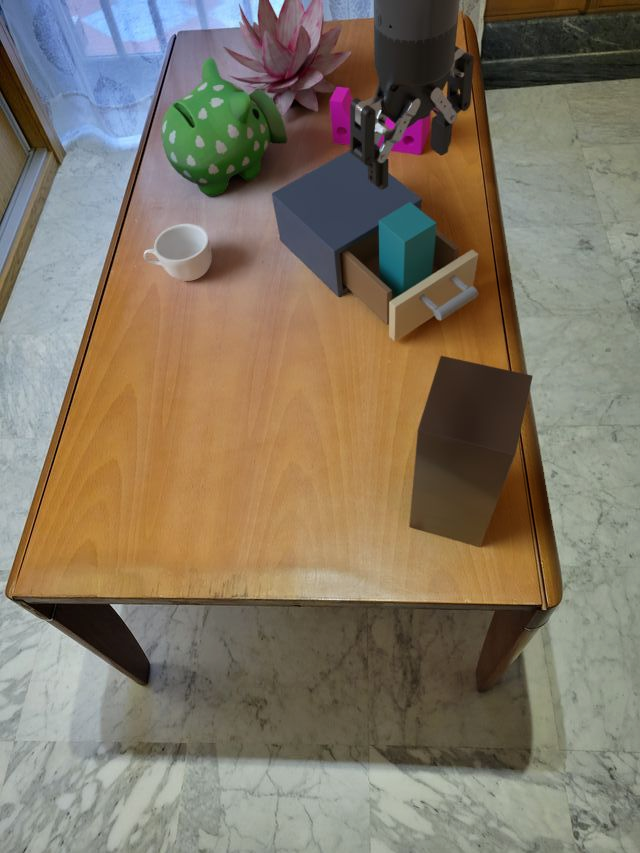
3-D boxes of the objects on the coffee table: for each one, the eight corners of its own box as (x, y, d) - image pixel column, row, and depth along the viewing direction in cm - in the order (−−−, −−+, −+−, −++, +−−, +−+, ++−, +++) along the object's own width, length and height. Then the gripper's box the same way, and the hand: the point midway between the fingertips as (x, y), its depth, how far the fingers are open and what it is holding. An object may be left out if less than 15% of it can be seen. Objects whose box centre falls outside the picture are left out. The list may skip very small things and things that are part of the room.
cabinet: (419, 247, 93) (422, 198, 85) (338, 297, 89) (334, 251, 82) (357, 195, 99) (355, 146, 92) (280, 240, 96) (271, 193, 88)
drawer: (494, 309, 85) (502, 272, 79) (415, 362, 81) (418, 328, 75) (408, 237, 93) (409, 199, 87) (333, 283, 89) (329, 246, 84)
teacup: (218, 248, 96) (209, 220, 92) (215, 286, 92) (206, 259, 88) (153, 254, 97) (142, 227, 92) (148, 292, 93) (136, 265, 88)
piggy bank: (297, 172, 103) (285, 84, 91) (198, 219, 100) (171, 133, 87) (257, 129, 110) (240, 40, 97) (163, 171, 107) (132, 85, 94)
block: (431, 285, 86) (436, 222, 77) (402, 304, 85) (404, 242, 75) (407, 265, 88) (410, 201, 79) (379, 282, 87) (378, 220, 78)
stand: (494, 484, 73) (533, 375, 54) (480, 547, 69) (515, 454, 50) (426, 466, 75) (440, 355, 56) (408, 527, 71) (417, 430, 52)
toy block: (429, 130, 106) (432, 87, 99) (420, 154, 103) (422, 112, 96) (344, 119, 109) (341, 77, 103) (333, 142, 106) (329, 100, 100)
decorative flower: (365, 116, 109) (362, 25, 96) (244, 144, 108) (225, 56, 95) (335, 50, 120) (329, -40, 107) (225, 75, 119) (205, -13, 106)
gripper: (379, 63, 53) (380, 215, 67) (504, -2, 57) (481, 155, 71) (327, 28, 57) (338, 180, 71) (448, -32, 60) (436, 124, 74)
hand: (409, 167), depth 71 cm, fingers open, 8 cm apart
